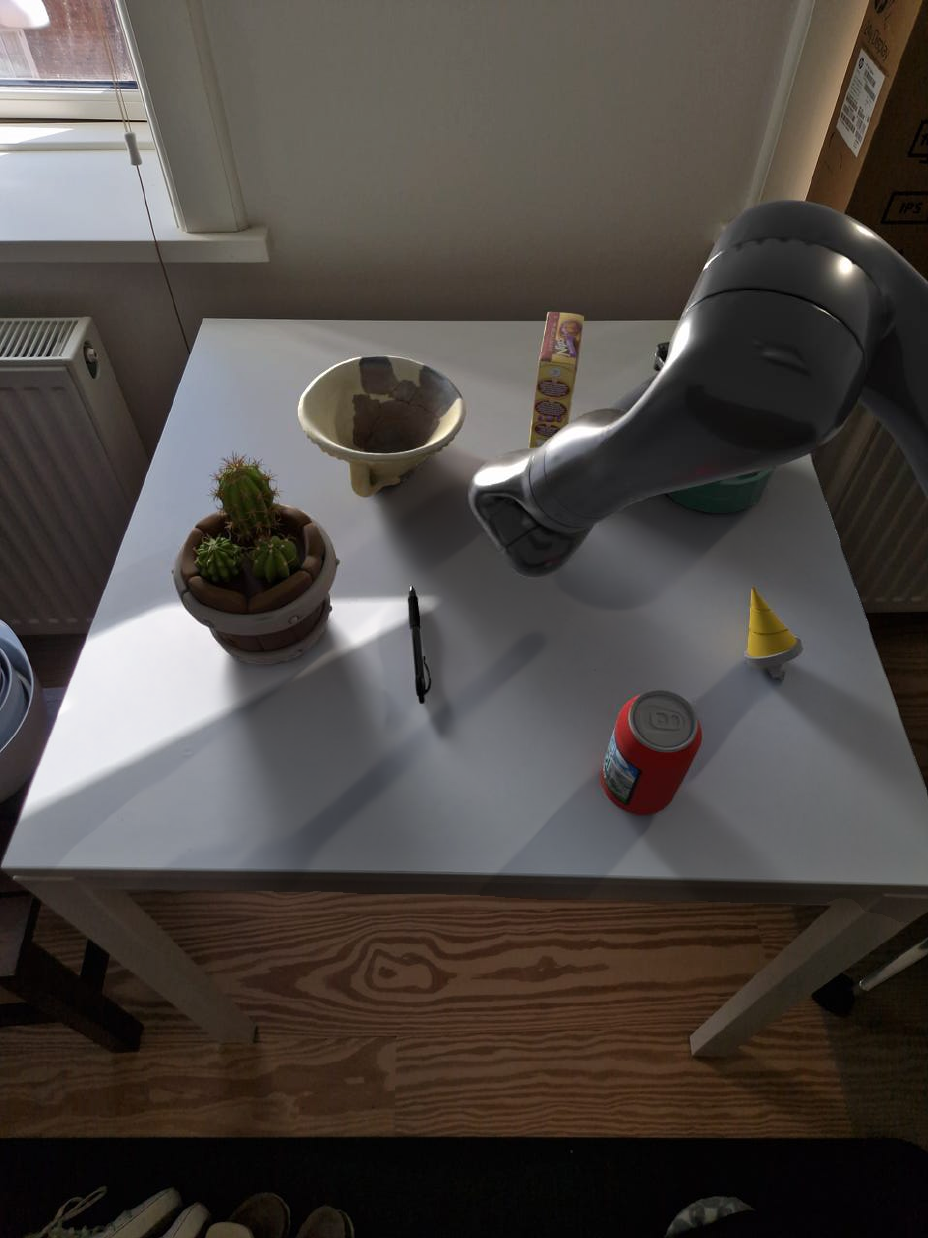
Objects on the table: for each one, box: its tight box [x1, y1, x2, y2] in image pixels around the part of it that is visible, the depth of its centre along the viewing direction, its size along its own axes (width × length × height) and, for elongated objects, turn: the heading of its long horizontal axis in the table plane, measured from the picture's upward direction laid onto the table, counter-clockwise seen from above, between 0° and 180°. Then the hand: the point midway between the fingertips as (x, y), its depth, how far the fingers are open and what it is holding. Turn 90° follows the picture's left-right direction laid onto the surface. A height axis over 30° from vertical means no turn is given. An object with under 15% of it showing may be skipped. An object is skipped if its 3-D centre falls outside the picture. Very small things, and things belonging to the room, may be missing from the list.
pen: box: [407, 585, 433, 705], centre depth 84 cm, size 14×2×1 cm, turn 6°
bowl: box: [297, 355, 467, 499], centre depth 96 cm, size 18×18×10 cm
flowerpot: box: [171, 450, 341, 665], centre depth 78 cm, size 14×15×20 cm
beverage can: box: [600, 689, 703, 816], centre depth 71 cm, size 7×7×12 cm
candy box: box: [528, 311, 585, 448], centre depth 96 cm, size 9×4×15 cm, turn 170°
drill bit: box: [743, 586, 804, 683], centre depth 82 cm, size 5×5×10 cm
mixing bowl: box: [666, 466, 777, 514], centre depth 97 cm, size 13×13×5 cm
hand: (767, 345), depth 84 cm, fingers closed on stirring stick, 2 cm apart
